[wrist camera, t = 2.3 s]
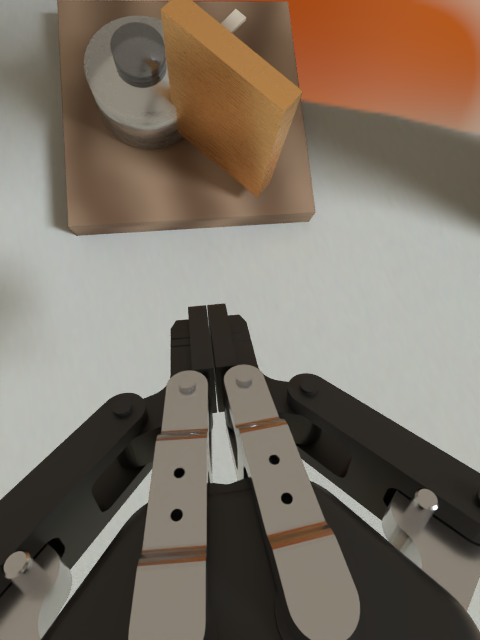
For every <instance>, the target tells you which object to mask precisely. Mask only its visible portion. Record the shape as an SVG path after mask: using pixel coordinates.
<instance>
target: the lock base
mask: <svg viewBox="0 0 480 640" xmlns="http://www.w3.org/2000/svg"><path fill="white" fill-rule="evenodd" d="M168 2H169V1H120V0H57V4H58V25H59V45H60V66H61V87H62V107H63V128H64V148H65V169H66V189H67V210H68V227H69V228H70V229H71V230H72V231H73V232H74V233H75V234H76V235H77V236H78V235H94V234H111V233H127V232H144V231H160V230H177V229H193V228H210V227H226V226H243V225H259V224H276V223H292V222H309V220H310V219H311V218H312V216H313V215H314V214H315V205H314V197H313V190H312V182H311V174H310V167H309V159H308V151H307V144H306V136H305V129H304V121H303V113H302V106H301V98H300V101H299V103H298V106H297V109H296V112H295V114H294V117H293V120H292V123H291V125H290V128H289V131H288V134H287V137H286V139H285V142H284V145H283V148H282V150H281V153H280V156H279V159H278V161H277V164H276V167H275V170H274V173H273V175H272V178H271V181H270V184H269V185H268V186H267V187H266V188H265V189H264V190H263V192H262V193H261V194H260V195H259V196H258V197H256V196H255V195H253V194H252V193H251V192H250V191H248V190H247V189H246V188H245V187H244V186H242V185H241V184H240V183H239V182H238V181H236V180H235V179H234V178H233V177H231V176H230V175H229V174H228V173H227V172H225V171H224V170H223V169H222V168H221V167H219V166H218V165H217V164H216V163H214V162H213V161H212V160H211V159H210V158H208V157H207V156H206V155H205V154H203V153H202V152H201V151H200V150H199V149H197V148H196V147H195V146H194V145H193V144H191V143H190V142H189V141H188V140H186V139H185V138H183V139H181V140H180V141H179V142H177V143H175V144H173V145H171V146H168V147H165V148H161V149H141V148H137V147H133V146H131V145H128V144H126V143H125V142H123V141H121V140H120V139H118V138H117V137H116V136H115V135H114V134H113V133H112V132H111V131H110V130H109V129H108V127H107V126H106V124H105V123H104V120H103V118H102V116H101V113H100V111H99V108H98V106H97V103H96V101H95V98H94V96H93V93H92V91H91V88H90V86H89V84H88V81H87V78H86V75H85V70H84V56H85V51H86V48H87V46H88V44H89V42H90V40H91V39H92V37H93V36H94V34H95V33H96V32H97V31H98V30H99V29H101V28H102V27H103V26H104V25H106V24H108V23H109V22H111V21H114V20H116V19H119V18H122V17H127V16H148V17H153V18H156V19H160V20H162V18H161V10H160V9H162V8H163V7H164V6H165V5H166V4H167V3H168ZM193 2H195V3H196V4H197V5H198V6H199V7H201V8H202V9H203V10H204V11H205V12H207V13H208V14H209V15H210V16H212V17H213V18H214V19H215V20H216V21H218V22H219V23H220V24H221V25H223V26H224V27H225V28H226V29H227V30H229V31H230V32H231V33H232V34H234V35H235V36H236V37H237V38H238V39H240V40H241V41H242V42H243V43H245V44H246V45H247V46H248V47H249V48H251V49H252V50H253V51H254V52H255V53H257V54H258V55H259V56H260V57H262V58H263V59H264V60H265V61H266V62H268V63H269V64H270V65H271V66H273V67H274V68H275V69H276V70H277V71H279V72H280V73H281V74H282V75H284V76H285V77H286V78H287V79H288V80H290V81H291V82H292V83H293V84H294V85H296V86H297V87H298V88H299V83H298V75H297V68H296V60H295V52H294V46H293V38H292V30H291V22H290V14H289V7H288V2H252V1H247V2H246V1H243V2H241V1H240V2H239V1H193Z"/></svg>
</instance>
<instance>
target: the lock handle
mask: <svg viewBox="0 0 480 640" xmlns="http://www.w3.org/2000/svg"><path fill="white" fill-rule="evenodd" d="M160 10H161V18H162V20H160V19H156V18H153V17H148V16H127V17H122V18H119V19H116V20H114V21H111V22H109V23H108V24H106V25H104V26H103V27H102V28H101V29H99V30H98V31H97V32H96V33H95V34H94V36H93V37H92V39H91V40H90V42H89V44H88V46H87V48H86V51H85V56H84V70H85V75H86V78H87V81H88V84H89V86H90V88H91V91H92V93H93V96H94V98H95V101H96V103H97V106H98V108H99V111H100V113H101V116H102V118H103V120H104V123H105V124H106V126H107V127H108V129H109V130H110V131H111V132H112V133H113V134H114V135H115V136H116V137H117V138H118V139H120V140H121V141H123V142H125V143H126V144H128V145H131V146H133V147H137V148H141V149H161V148H165V147H168V146H171V145H173V144H175V143H177V142H179V141H180V140H181V139H183V138H185V139H186V140H188V141H189V142H190V143H191V144H193V145H194V146H195V147H196V148H197V149H199V150H200V151H201V152H202V153H203V154H205V155H206V156H207V157H208V158H210V159H211V160H212V161H213V162H214V163H216V164H217V165H218V166H219V167H221V168H222V169H223V170H224V171H225V172H227V173H228V174H229V175H230V176H231V177H233V178H234V179H235V180H236V181H238V182H239V183H240V184H241V185H242V186H244V187H245V188H246V189H247V190H248V191H250V192H251V193H252V194H253V195H255V196H256V197H258V196H259V195H260V194H261V193H262V192H263V190H264V189H265V188H266V187H267V186H268V185H269V184H270V181H271V178H272V175H273V173H274V170H275V167H276V164H277V161H278V159H279V156H280V153H281V150H282V148H283V145H284V142H285V139H286V137H287V134H288V131H289V128H290V125H291V123H292V120H293V117H294V114H295V112H296V109H297V106H298V103H299V101H300V98H301V95H302V92H303V91H302V90H301V89H299V88H298V87H297V86H296V85H294V84H293V83H292V82H291V81H290V80H288V79H287V78H286V77H285V76H284V75H282V74H281V73H280V72H279V71H277V70H276V69H275V68H274V67H273V66H271V65H270V64H269V63H268V62H266V61H265V60H264V59H263V58H262V57H260V56H259V55H258V54H257V53H255V52H254V51H253V50H252V49H251V48H249V47H248V46H247V45H246V44H245V43H243V42H242V41H241V40H240V39H238V38H237V37H236V36H235V35H234V34H232V33H231V32H230V31H229V30H227V29H226V28H225V27H224V26H223V25H221V24H220V23H219V22H218V21H216V20H215V19H214V18H213V17H212V16H210V15H209V14H208V13H207V12H205V11H204V10H203V9H202V8H201V7H199V6H198V5H197V4H196V3H195V2H193V1H192V0H170V1H169V2H168V3H167V4H166V5H165V6H164V7H163V8H162V9H160Z"/></svg>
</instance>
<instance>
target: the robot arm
mask: <svg viewBox="0 0 480 640" xmlns="http://www.w3.org/2000/svg"><path fill="white" fill-rule="evenodd" d="M207 307H208V317H207V309H206V305H205V306H193V307H188V313H189V319H188V320H177V321H176V322H175V323H174V325H173V327H172V328H171V376H170V380H169V381H168V383H167V386H166V387H165V388H164V389H163V390H161V391H160V392H158V393H156V394H154V395H152V396H149V397H147V398H144V399H143V398H141V397H140V396H139V395H137V394H134V393H122V394H119V395H116V396H114V397H112V398H111V399H109V400H108V401H107V402H106V403H105V404H104V405H102V406H101V407H100V408H99V409H98V410H97V411H96V412H95V413H94V414H93V415H92V416H91V417H89V418H88V419H87V420H86V421H85V422H84V423H83V424H82V425H81V426H80V427H79V428H78V429H77V430H75V431H74V432H73V433H72V434H71V435H70V436H69V437H68V438H67V439H66V440H65V441H64V442H63V443H61V444H60V445H59V446H58V447H57V448H56V449H55V450H54V451H53V452H52V453H51V454H50V455H48V456H47V457H46V458H45V459H44V460H43V461H42V462H41V463H40V464H39V465H38V466H37V467H36V468H34V469H33V470H32V471H31V472H30V473H29V474H28V475H27V476H26V477H25V478H24V479H23V480H22V481H20V482H19V483H18V484H17V485H16V486H15V487H14V488H13V489H12V490H11V491H10V492H9V493H8V494H6V495H5V496H4V497H3V498H2V499H1V500H0V640H480V632H479V630H478V628H477V626H476V625H475V623H474V621H473V620H472V618H471V617H470V615H469V614H468V613H467V609H468V607H469V604H470V601H471V599H472V596H473V593H474V591H475V588H476V585H477V583H478V580H479V577H480V473H478V472H477V471H475V470H473V469H472V468H470V467H469V466H467V465H465V464H464V463H462V462H460V461H459V460H457V459H455V458H454V457H452V456H450V455H449V454H447V453H445V452H444V451H442V450H440V449H439V448H437V447H435V446H434V445H432V444H430V443H429V442H427V441H425V440H424V439H422V438H420V437H419V436H417V435H415V434H414V433H412V432H410V431H409V430H407V429H405V428H404V427H402V426H400V425H399V424H397V423H395V422H394V421H392V420H390V419H389V418H387V417H385V416H384V415H382V414H380V413H379V412H377V411H375V410H374V409H372V408H370V407H369V406H367V405H365V404H364V403H362V402H360V401H359V400H357V399H355V398H354V397H352V396H351V395H349V394H347V393H346V392H344V391H342V390H341V389H339V388H337V387H336V386H334V385H332V384H331V383H329V382H327V381H326V380H324V379H322V378H321V377H319V376H316V375H313V374H307V373H306V374H299V375H296V376H294V377H293V378H292V379H291V380H290V381H289V382H285V381H278V380H274V379H271V378H269V377H267V376H265V375H264V374H263V373H262V372H261V371H260V370H259V368H258V365H257V361H256V358H255V354H254V350H253V346H252V342H251V338H250V334H249V331H248V327H247V323H246V321H245V320H244V319H243V318H242V317H241V316H240V315H230V316H228V315H227V310H226V305H225V304H215V305H207ZM208 321H209V325H208ZM215 386H216V391H215ZM216 394H217V402H218V410H219V412H224V411H225V418H226V431H227V436H228V440H229V444H230V449H231V453H232V457H233V462H234V466H235V471H236V475H237V482H234V483H232V484H217V483H213V472H212V428H213V417H212V413H217V406H216ZM301 459H303V460H304V461H305V462H306V463H308V464H309V465H310V466H312V467H313V468H314V469H316V470H317V471H318V472H319V473H321V474H322V475H323V476H325V477H326V478H327V479H329V480H330V481H331V482H332V483H334V484H335V485H336V486H338V487H339V488H340V489H342V490H343V491H344V492H345V493H347V494H348V495H349V496H351V497H352V498H353V499H355V500H356V501H357V502H358V503H360V504H361V505H362V506H364V507H365V508H366V509H367V510H369V511H370V512H371V513H373V514H374V515H375V516H377V517H378V518H379V519H380V520H382V527H383V531H384V534H385V536H386V538H387V540H388V541H387V540H386V539H385V538H384V537H383V536H381V535H380V534H379V533H378V532H377V531H375V530H374V529H373V528H372V527H371V526H370V525H368V524H367V523H366V522H365V521H364V520H362V519H361V518H360V517H359V516H358V515H356V514H355V513H354V512H353V511H352V510H351V509H349V508H348V507H347V506H346V505H345V504H343V503H342V502H341V501H340V500H339V499H337V498H336V497H335V496H334V495H333V494H331V493H330V492H329V491H328V490H326V489H325V488H323V487H321V486H320V485H318V484H316V483H314V482H311V481H310V480H309V478H308V475H307V473H306V470H305V467H304V465H303V462H302V460H301ZM151 469H152V476H151V484H150V492H149V500H148V503H147V504H145V505H144V506H143V507H141V508H140V509H139V510H138V511H136V512H135V513H134V514H133V515H132V516H131V517H130V519H129V520H128V521H127V522H126V523H125V525H124V526H123V527H122V529H121V530H120V531H119V533H118V534H117V535H116V537H115V538H114V540H113V541H112V542H111V544H110V545H109V546H108V548H107V549H106V551H105V552H104V553H103V555H102V556H101V557H100V559H99V560H98V562H97V563H96V564H95V566H94V567H93V568H92V570H91V571H90V573H89V574H88V575H87V577H86V578H85V579H84V581H83V582H82V584H81V585H80V586H79V588H78V589H77V590H76V592H75V593H74V595H73V596H72V597H71V599H70V600H69V601H68V603H67V604H66V606H65V607H64V608H63V610H62V611H61V612H60V614H59V615H58V613H59V611H60V610H61V608H62V606H63V605H64V603H65V602H66V600H67V598H68V596H69V593H70V590H71V585H72V575H71V572H70V569H71V568H72V567H73V566H74V564H75V563H76V562H77V561H78V559H79V558H80V557H81V556H82V554H83V553H84V552H85V551H86V550H87V548H88V547H89V546H90V545H91V543H92V542H93V541H94V540H95V538H96V537H97V536H98V535H99V533H100V532H101V531H102V530H103V529H104V527H105V526H106V525H107V524H108V522H109V521H110V520H111V519H112V517H113V516H114V515H115V514H116V512H117V511H118V510H119V509H120V508H121V506H122V505H123V504H124V503H125V501H126V500H127V499H128V498H129V496H130V495H131V494H132V493H133V492H134V490H135V489H136V488H137V487H138V485H139V484H140V483H141V482H142V480H143V479H144V478H145V477H146V475H147V474H148V473H149V472H150V471H151ZM57 616H58V617H57Z"/></svg>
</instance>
